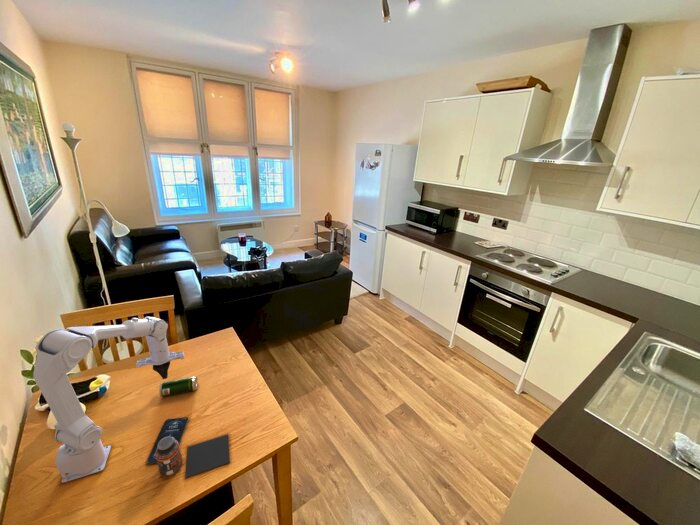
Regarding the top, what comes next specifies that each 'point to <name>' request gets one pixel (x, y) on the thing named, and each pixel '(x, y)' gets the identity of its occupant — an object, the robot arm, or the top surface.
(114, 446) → the top surface
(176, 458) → the supplement bottle
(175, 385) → the beer can
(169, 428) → the smartphone
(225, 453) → the mat
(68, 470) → the robot arm
